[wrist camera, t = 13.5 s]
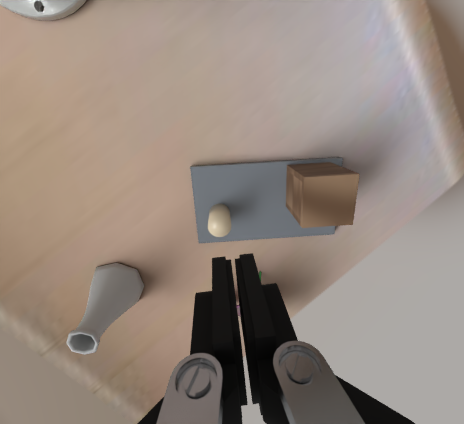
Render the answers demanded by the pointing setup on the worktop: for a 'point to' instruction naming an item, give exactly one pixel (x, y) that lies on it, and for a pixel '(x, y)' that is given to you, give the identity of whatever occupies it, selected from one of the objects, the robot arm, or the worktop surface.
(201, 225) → the slate stand
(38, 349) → the worktop surface
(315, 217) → the wooden grain cube
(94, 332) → the flask
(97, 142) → the worktop surface
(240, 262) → the robot arm
